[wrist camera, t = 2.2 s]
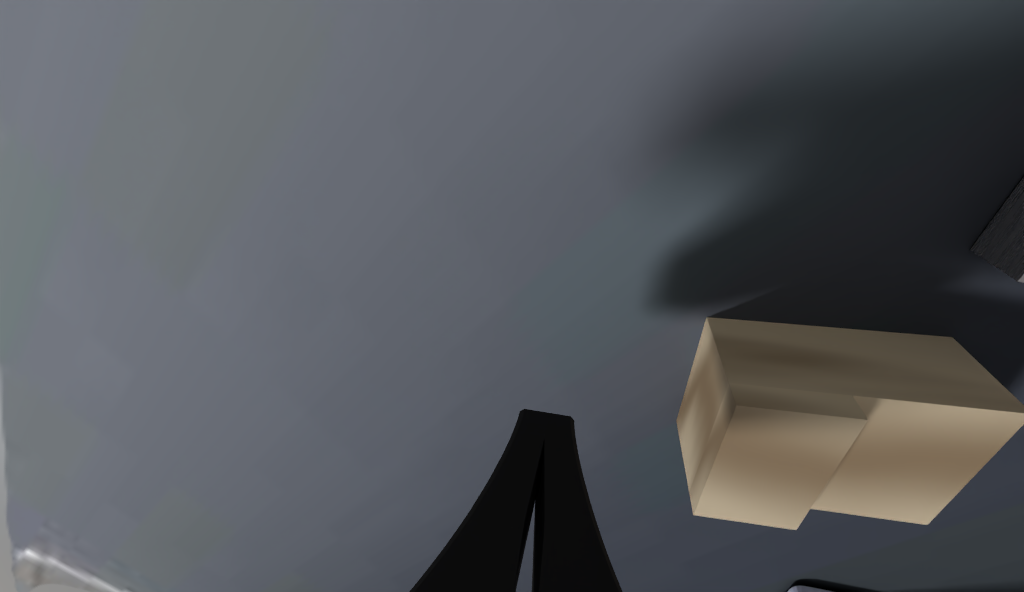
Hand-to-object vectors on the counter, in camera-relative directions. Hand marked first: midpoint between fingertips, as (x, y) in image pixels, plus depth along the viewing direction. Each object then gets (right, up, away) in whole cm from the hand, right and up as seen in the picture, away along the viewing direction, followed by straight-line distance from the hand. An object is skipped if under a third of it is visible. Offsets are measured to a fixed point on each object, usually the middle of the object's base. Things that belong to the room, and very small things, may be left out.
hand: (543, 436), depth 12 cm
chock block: (+9, +1, +3) cm, 10 cm away
